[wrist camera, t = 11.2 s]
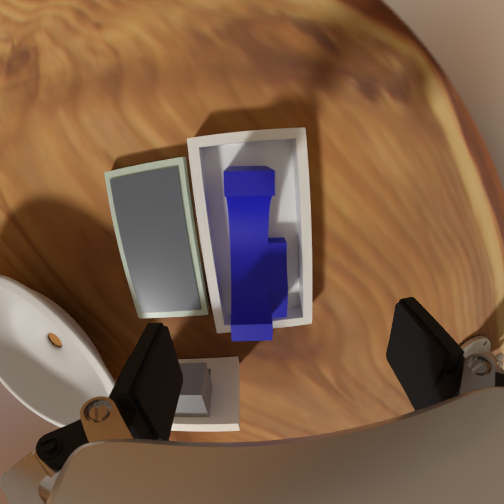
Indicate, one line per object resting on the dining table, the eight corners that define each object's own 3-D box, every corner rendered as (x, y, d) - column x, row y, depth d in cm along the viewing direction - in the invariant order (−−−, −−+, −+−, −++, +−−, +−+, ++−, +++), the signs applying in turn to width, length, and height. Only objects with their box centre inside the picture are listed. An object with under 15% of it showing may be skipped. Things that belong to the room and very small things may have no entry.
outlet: (234, 333, 27) (232, 401, 19) (239, 364, 29) (239, 430, 20) (150, 337, 27) (125, 399, 19) (161, 366, 29) (143, 428, 20)
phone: (185, 156, 21) (182, 156, 20) (209, 308, 26) (208, 315, 25) (110, 171, 21) (103, 172, 20) (142, 312, 26) (138, 319, 25)
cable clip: (282, 299, 26) (292, 338, 20) (233, 300, 26) (231, 341, 20) (285, 165, 22) (300, 170, 16) (228, 166, 21) (223, 171, 16)
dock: (298, 129, 21) (305, 127, 19) (306, 309, 27) (311, 323, 24) (192, 139, 21) (186, 138, 19) (218, 318, 27) (216, 333, 24)
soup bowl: (18, 370, 30) (0, 395, 24) (-17, 235, 22) (-50, 253, 16) (143, 419, 33) (133, 454, 27) (137, 276, 25) (110, 313, 19)
